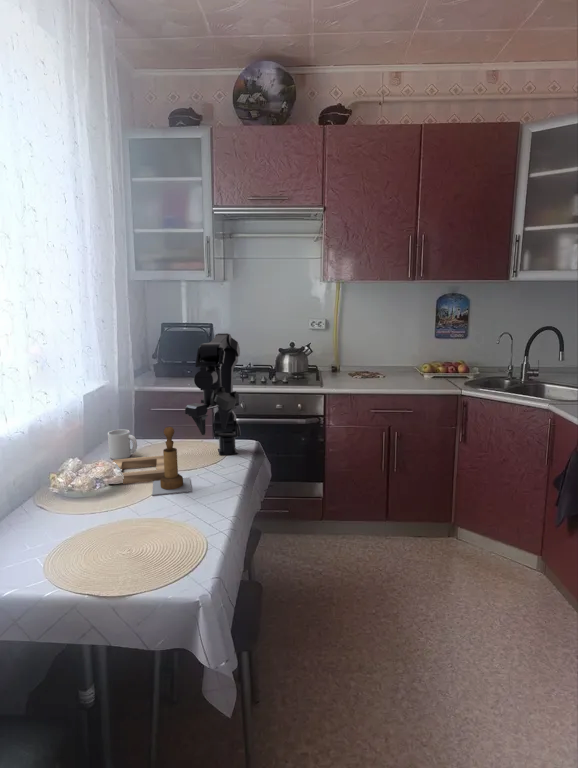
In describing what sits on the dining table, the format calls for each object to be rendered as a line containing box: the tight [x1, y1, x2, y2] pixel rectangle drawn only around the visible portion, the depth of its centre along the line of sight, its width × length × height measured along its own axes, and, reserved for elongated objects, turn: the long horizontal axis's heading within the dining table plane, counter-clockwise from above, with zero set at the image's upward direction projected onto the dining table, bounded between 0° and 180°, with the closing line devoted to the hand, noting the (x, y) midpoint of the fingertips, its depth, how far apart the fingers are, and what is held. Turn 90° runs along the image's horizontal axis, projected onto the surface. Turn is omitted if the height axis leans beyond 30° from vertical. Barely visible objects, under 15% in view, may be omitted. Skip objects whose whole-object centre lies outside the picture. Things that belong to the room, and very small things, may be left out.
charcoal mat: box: [151, 477, 192, 497], centre depth 155 cm, size 11×11×1 cm
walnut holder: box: [112, 455, 165, 485], centre depth 167 cm, size 17×17×2 cm
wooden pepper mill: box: [160, 426, 184, 489], centre depth 153 cm, size 7×6×18 cm
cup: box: [107, 429, 138, 460], centre depth 183 cm, size 7×10×9 cm
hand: (213, 431), depth 166 cm, fingers open, 9 cm apart
